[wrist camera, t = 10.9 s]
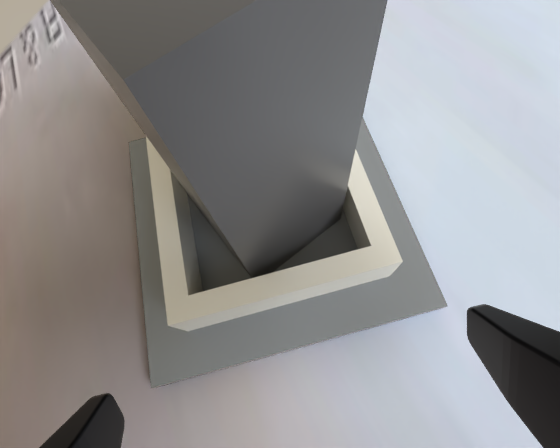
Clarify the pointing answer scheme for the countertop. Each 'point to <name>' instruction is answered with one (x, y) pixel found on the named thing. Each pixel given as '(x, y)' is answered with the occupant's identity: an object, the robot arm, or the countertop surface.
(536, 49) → the countertop surface
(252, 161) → the plug
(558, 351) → the robot arm
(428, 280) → the socket board
